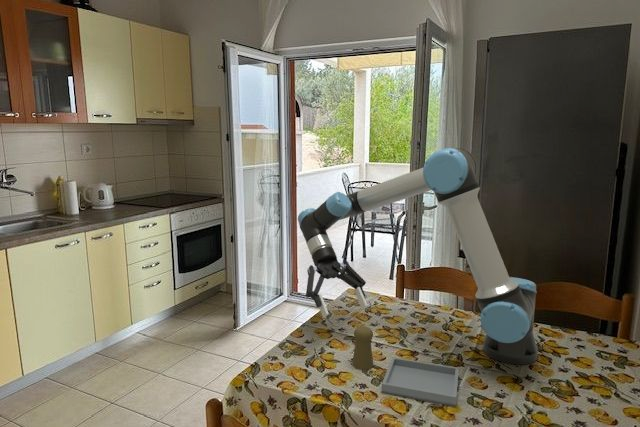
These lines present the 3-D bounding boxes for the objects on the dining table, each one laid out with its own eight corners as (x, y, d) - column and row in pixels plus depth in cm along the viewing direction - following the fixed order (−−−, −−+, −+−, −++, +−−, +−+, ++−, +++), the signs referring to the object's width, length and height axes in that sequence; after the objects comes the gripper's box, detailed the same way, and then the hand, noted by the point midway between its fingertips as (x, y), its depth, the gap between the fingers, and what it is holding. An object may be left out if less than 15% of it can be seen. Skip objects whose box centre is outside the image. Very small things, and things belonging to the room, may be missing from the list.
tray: (458, 376, 119) (458, 367, 119) (455, 407, 105) (456, 397, 105) (392, 365, 125) (392, 356, 125) (381, 392, 111) (381, 383, 111)
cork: (372, 371, 122) (373, 333, 120) (350, 368, 123) (351, 331, 122) (374, 360, 128) (375, 324, 126) (353, 358, 129) (354, 323, 127)
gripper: (350, 253, 150) (374, 310, 139) (283, 262, 139) (304, 325, 128) (359, 241, 145) (385, 299, 134) (290, 249, 133) (312, 313, 122)
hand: (346, 312), depth 131 cm, fingers open, 13 cm apart
